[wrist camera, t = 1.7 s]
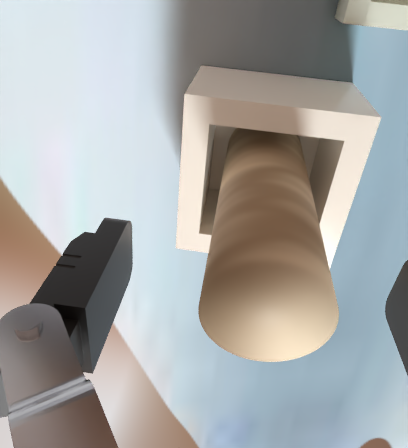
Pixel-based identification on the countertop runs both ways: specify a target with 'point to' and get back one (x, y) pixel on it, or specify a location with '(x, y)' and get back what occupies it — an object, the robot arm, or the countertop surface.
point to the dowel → (267, 255)
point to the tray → (374, 13)
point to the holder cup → (273, 122)
